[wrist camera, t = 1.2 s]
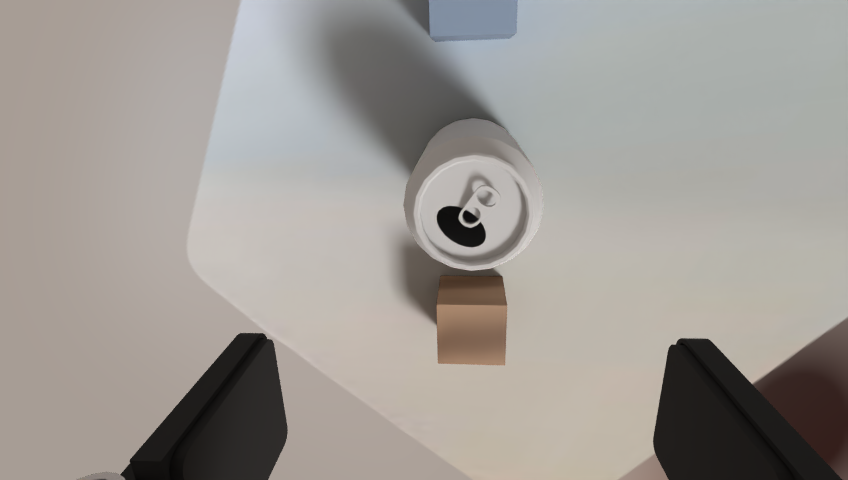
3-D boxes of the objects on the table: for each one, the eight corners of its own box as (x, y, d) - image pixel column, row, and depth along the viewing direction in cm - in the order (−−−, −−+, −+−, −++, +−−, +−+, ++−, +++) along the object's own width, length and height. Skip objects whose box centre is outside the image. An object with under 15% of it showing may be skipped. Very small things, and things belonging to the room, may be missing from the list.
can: (402, 178, 35) (371, 229, 24) (461, 95, 33) (458, 108, 21) (480, 234, 36) (486, 309, 25) (543, 157, 33) (581, 201, 22)
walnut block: (440, 275, 38) (436, 304, 33) (502, 275, 37) (507, 305, 32) (441, 328, 39) (437, 363, 35) (500, 329, 39) (504, 365, 34)
